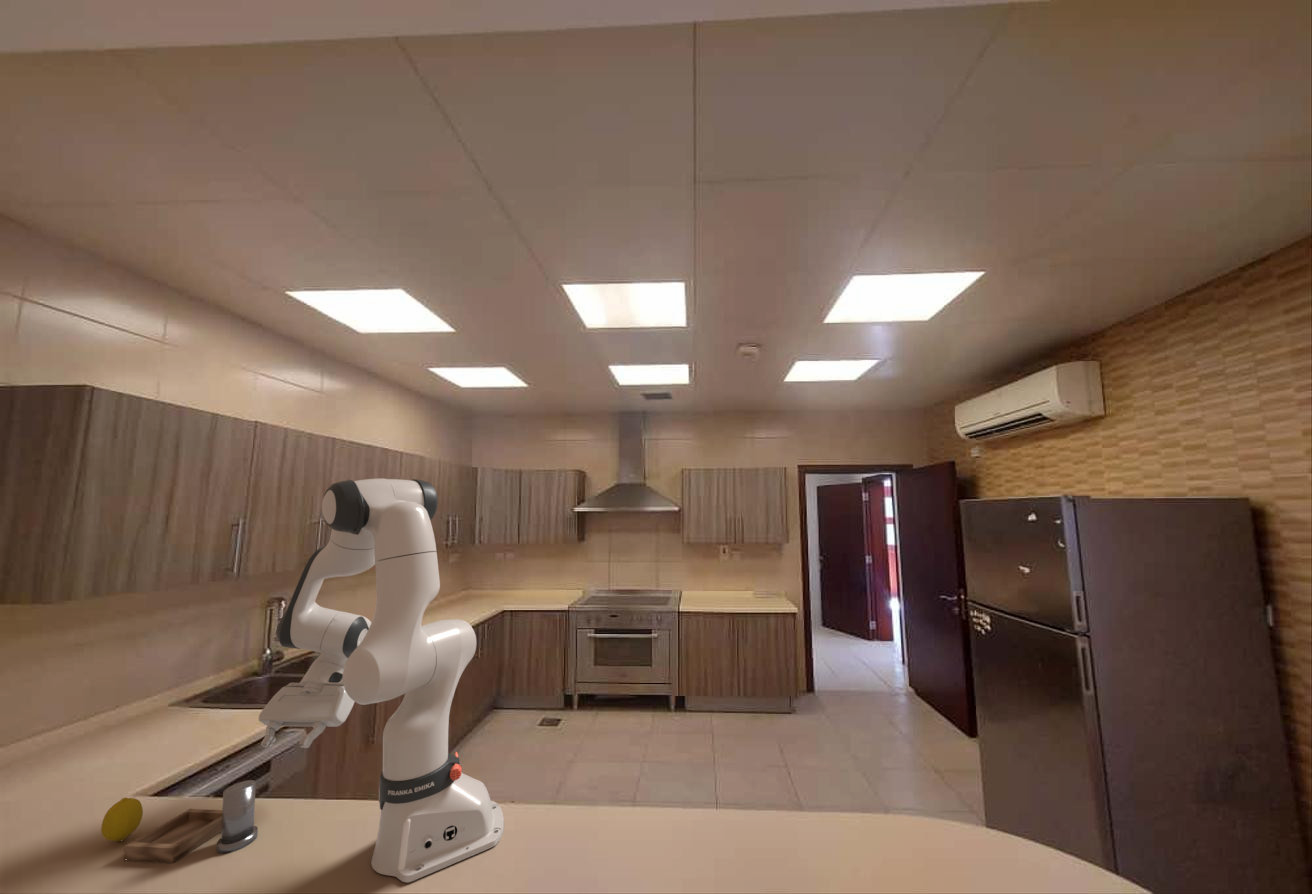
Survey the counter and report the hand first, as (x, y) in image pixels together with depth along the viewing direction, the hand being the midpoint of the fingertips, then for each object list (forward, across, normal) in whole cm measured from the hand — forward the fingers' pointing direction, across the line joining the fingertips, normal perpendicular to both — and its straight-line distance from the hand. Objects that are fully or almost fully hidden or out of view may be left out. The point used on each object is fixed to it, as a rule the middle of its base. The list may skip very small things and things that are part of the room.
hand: (284, 746), depth 103 cm
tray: (+16, -12, +2) cm, 21 cm away
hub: (+16, 0, +3) cm, 16 cm away
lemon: (+17, -26, +2) cm, 31 cm away
